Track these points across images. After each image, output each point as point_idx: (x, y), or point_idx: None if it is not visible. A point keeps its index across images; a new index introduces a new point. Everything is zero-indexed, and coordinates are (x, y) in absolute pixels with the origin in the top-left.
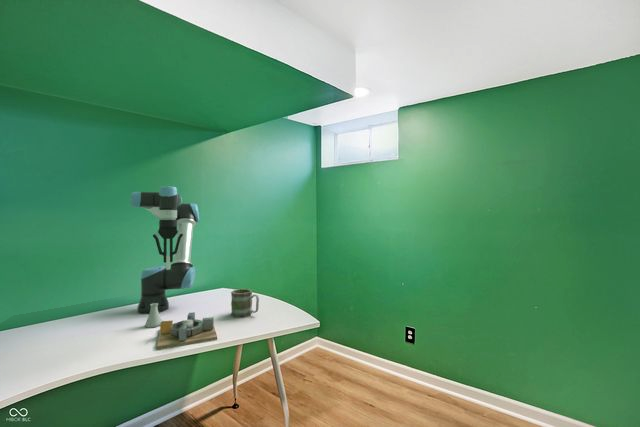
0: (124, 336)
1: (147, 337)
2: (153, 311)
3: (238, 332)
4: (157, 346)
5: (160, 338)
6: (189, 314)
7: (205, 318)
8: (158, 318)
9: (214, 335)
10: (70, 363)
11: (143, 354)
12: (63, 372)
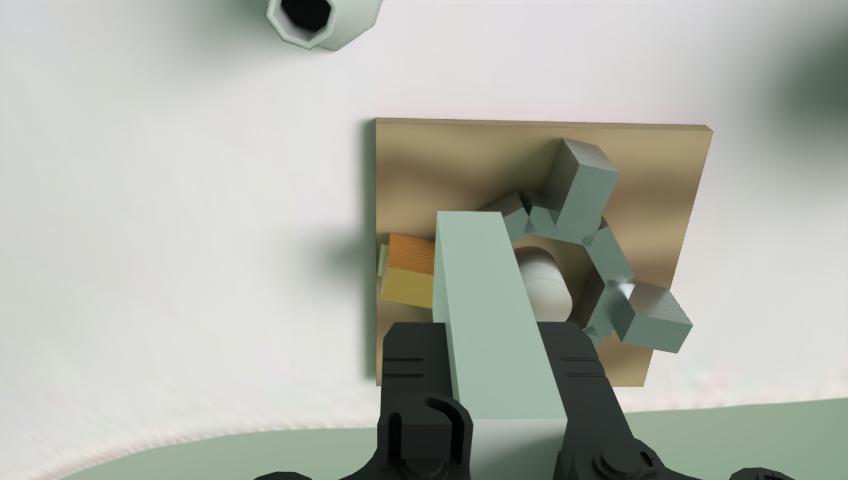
0: (170, 133)
1: (313, 211)
2: (308, 31)
3: (759, 341)
4: (377, 385)
5: (386, 303)
6: (573, 205)
7: (643, 326)
8: (354, 23)
9: (636, 371)
10: (40, 363)
11: (324, 394)
12: (59, 423)
